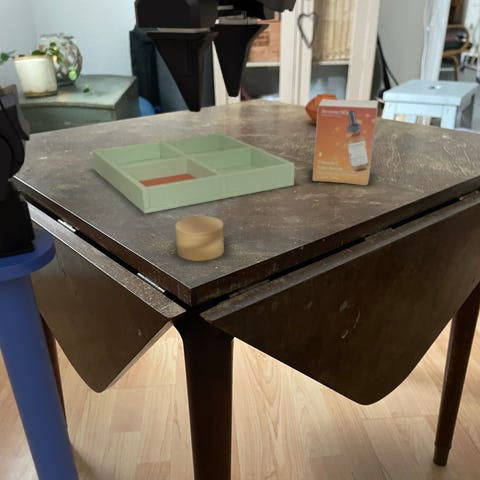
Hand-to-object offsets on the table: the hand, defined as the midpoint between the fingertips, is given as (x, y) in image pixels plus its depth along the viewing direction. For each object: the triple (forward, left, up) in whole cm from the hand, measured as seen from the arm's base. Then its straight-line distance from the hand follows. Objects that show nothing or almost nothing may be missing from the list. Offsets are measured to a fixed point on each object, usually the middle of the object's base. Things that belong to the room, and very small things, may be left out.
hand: (215, 103), depth 56 cm
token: (-5, -5, -14) cm, 15 cm away
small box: (+24, +8, -14) cm, 29 cm away
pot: (+43, +38, -14) cm, 60 cm away
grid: (+5, +20, -14) cm, 25 cm away
